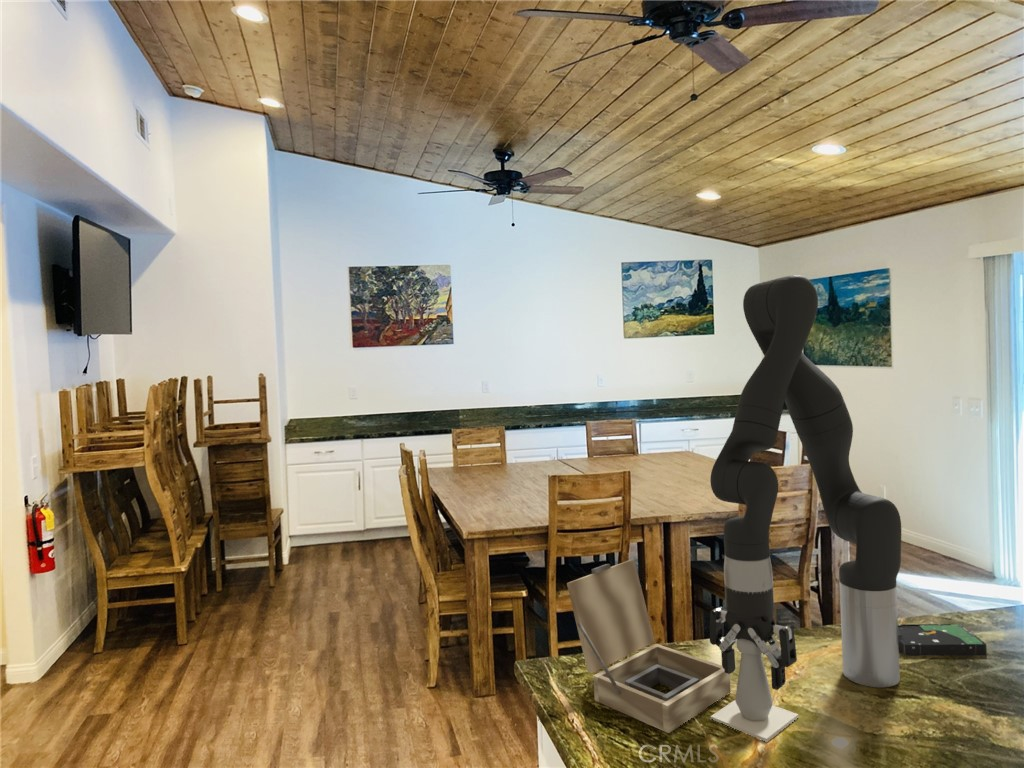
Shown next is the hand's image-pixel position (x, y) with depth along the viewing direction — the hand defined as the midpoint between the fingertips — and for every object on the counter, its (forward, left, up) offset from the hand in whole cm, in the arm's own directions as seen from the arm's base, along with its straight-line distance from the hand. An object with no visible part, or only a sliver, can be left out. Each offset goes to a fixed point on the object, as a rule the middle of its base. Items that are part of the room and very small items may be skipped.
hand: (753, 679), depth 116 cm
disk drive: (-48, +11, -7) cm, 50 cm away
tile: (0, 0, -7) cm, 7 cm away
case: (+5, -17, -7) cm, 19 cm away
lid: (+4, -26, +6) cm, 27 cm away
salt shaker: (0, 0, -6) cm, 6 cm away
